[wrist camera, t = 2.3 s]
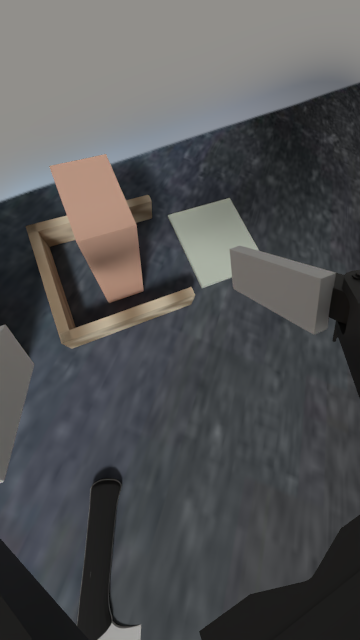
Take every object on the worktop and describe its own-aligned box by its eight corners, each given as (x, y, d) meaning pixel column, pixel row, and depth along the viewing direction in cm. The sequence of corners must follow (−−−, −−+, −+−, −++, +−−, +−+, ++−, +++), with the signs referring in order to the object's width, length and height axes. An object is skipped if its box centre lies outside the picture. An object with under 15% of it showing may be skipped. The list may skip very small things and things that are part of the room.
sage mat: (228, 199, 39) (229, 197, 39) (265, 265, 36) (266, 264, 36) (167, 216, 37) (168, 215, 36) (201, 288, 34) (202, 287, 34)
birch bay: (149, 212, 37) (148, 194, 33) (191, 304, 33) (195, 295, 30) (38, 242, 33) (25, 226, 30) (71, 348, 30) (61, 343, 26)
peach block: (124, 244, 35) (105, 154, 21) (143, 291, 33) (136, 225, 19) (90, 254, 34) (49, 165, 20) (109, 303, 32) (76, 242, 18)
